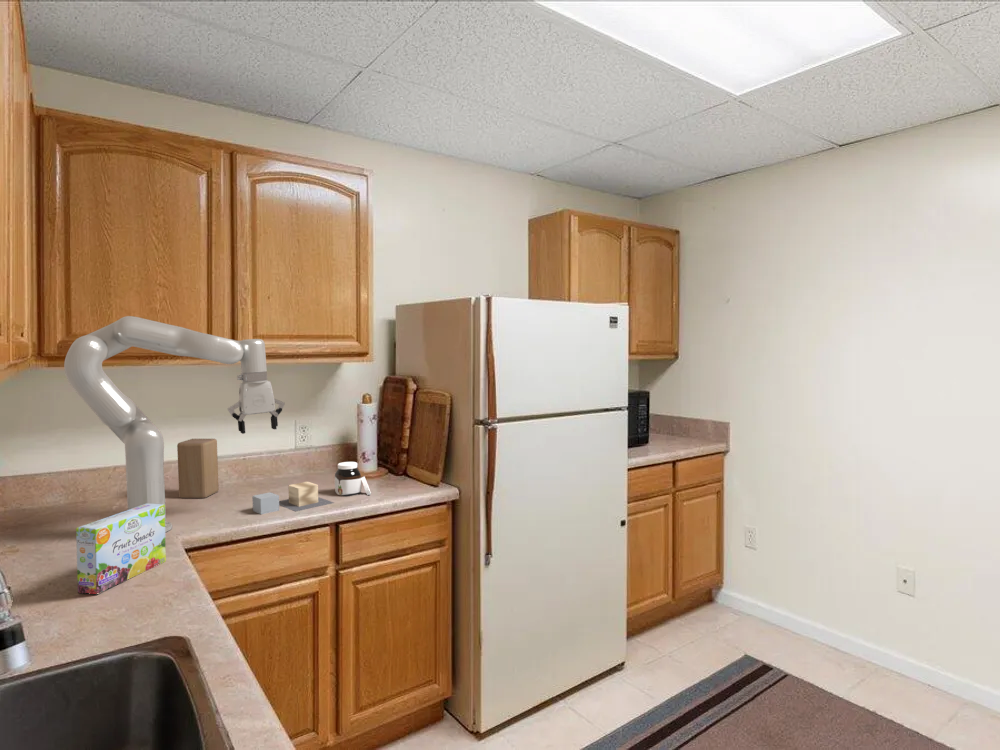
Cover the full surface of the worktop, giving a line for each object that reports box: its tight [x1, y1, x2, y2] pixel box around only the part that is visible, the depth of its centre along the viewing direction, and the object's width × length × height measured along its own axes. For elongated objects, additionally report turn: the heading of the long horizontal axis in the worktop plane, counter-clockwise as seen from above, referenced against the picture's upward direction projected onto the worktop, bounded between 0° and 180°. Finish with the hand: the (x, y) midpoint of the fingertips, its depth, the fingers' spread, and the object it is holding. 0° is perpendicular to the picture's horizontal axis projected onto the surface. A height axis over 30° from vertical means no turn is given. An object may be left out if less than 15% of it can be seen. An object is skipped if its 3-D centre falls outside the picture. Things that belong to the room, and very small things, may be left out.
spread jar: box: [334, 461, 372, 497], centre depth 216 cm, size 12×11×12 cm
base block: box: [287, 481, 319, 506], centre depth 204 cm, size 7×7×6 cm
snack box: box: [75, 503, 167, 595], centre depth 143 cm, size 21×6×15 cm, turn 170°
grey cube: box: [252, 492, 280, 515], centre depth 194 cm, size 6×6×6 cm
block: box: [176, 438, 220, 499], centre depth 218 cm, size 10×10×20 cm
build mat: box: [279, 496, 335, 512], centre depth 204 cm, size 14×16×1 cm
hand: (258, 431), depth 193 cm, fingers open, 9 cm apart
